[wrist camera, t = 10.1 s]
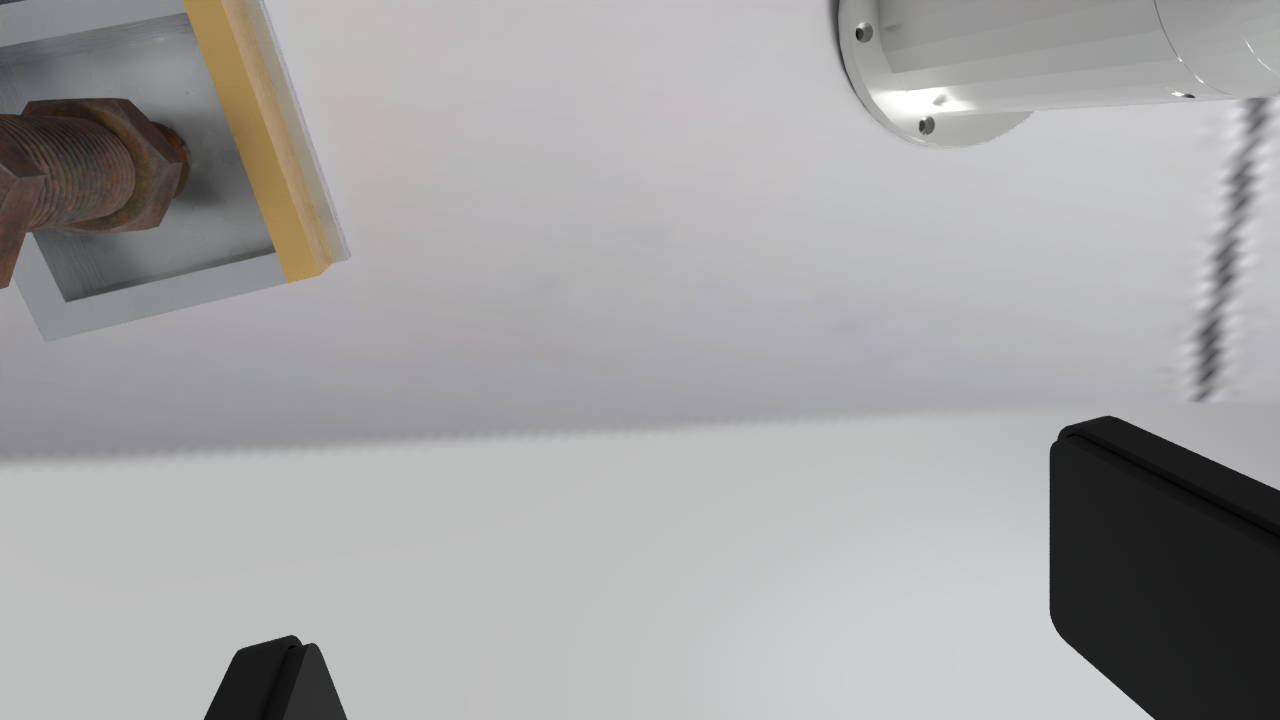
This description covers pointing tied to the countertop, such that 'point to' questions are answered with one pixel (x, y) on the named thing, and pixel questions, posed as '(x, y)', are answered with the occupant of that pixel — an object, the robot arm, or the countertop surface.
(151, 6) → the shallow open tray
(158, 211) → the bolt
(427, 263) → the countertop surface
